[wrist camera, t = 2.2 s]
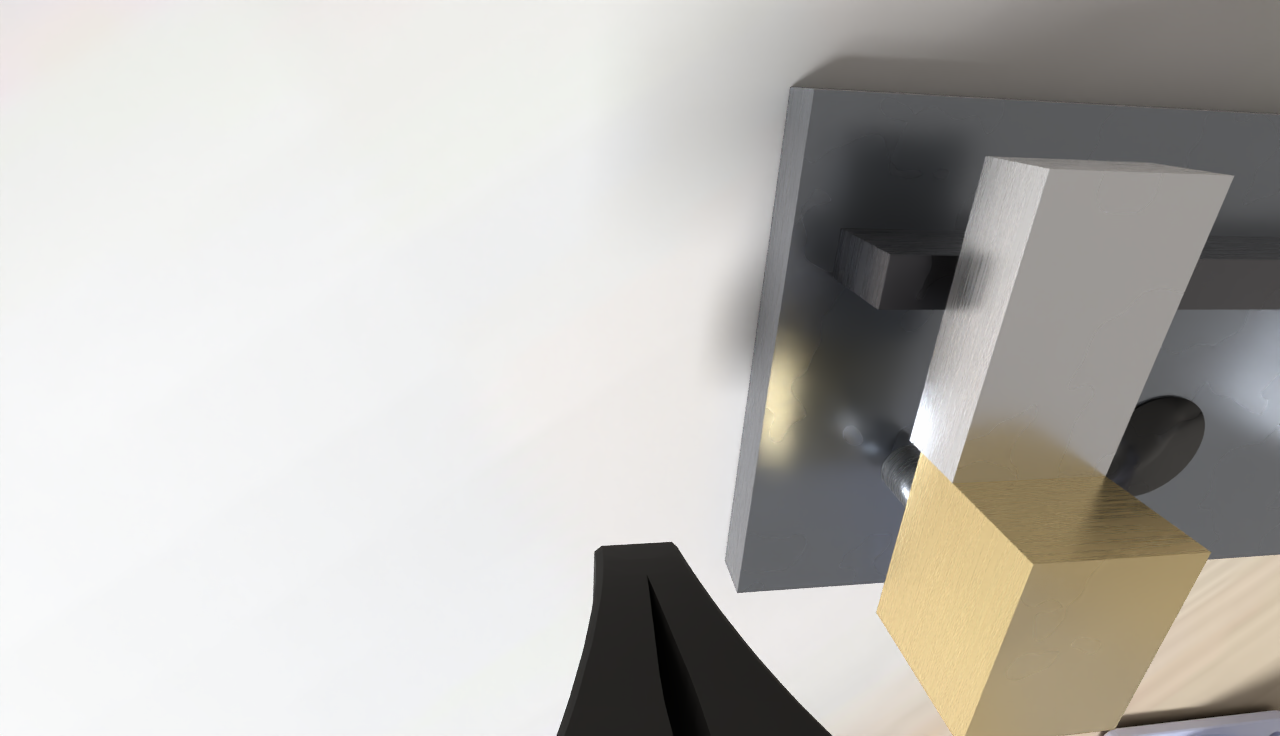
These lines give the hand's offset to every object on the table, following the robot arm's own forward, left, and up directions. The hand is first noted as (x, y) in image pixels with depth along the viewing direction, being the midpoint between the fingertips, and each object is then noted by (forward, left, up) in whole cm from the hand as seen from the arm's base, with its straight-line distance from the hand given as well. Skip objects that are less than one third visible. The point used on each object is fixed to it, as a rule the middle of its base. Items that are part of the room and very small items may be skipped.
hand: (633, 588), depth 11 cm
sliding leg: (+3, -7, -3) cm, 8 cm away
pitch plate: (+2, -16, -5) cm, 17 cm away
